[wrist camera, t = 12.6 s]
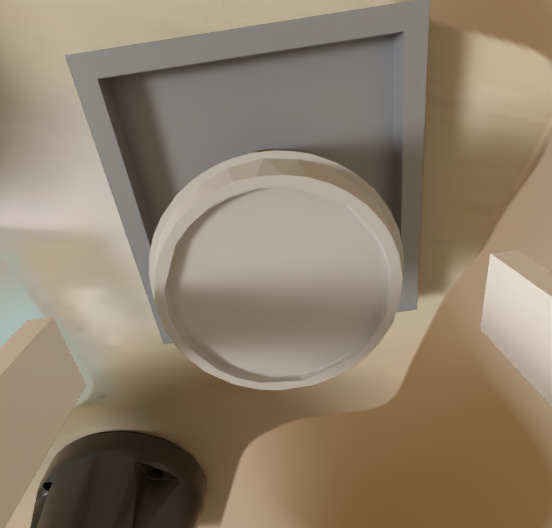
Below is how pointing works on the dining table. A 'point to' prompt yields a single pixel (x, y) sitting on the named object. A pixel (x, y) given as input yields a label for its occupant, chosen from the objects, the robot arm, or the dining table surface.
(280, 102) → the tray
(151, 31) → the dining table surface
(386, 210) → the disposable coffee cup
